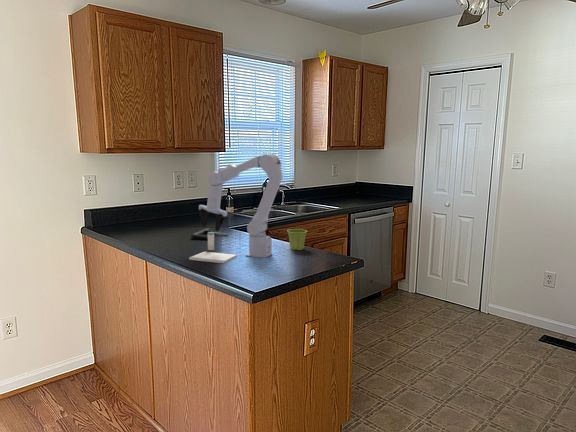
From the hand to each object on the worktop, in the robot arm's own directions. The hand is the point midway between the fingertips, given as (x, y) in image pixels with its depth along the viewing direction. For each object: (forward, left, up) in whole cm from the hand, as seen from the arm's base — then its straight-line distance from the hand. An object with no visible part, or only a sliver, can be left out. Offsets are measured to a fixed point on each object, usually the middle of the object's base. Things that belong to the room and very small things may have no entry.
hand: (210, 228), depth 190 cm
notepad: (-7, +10, -11) cm, 16 cm away
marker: (0, 0, -11) cm, 11 cm away
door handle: (+18, -30, -11) cm, 36 cm away
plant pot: (-34, -20, -11) cm, 41 cm away
